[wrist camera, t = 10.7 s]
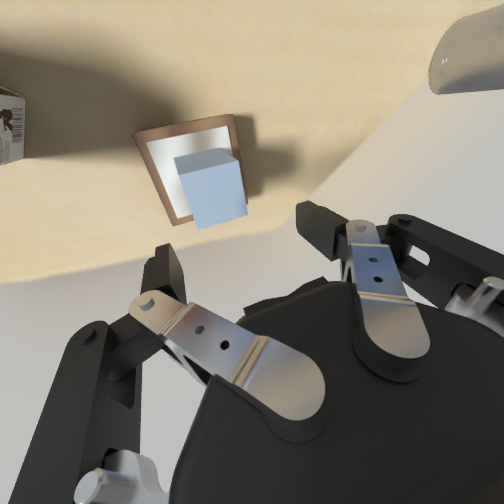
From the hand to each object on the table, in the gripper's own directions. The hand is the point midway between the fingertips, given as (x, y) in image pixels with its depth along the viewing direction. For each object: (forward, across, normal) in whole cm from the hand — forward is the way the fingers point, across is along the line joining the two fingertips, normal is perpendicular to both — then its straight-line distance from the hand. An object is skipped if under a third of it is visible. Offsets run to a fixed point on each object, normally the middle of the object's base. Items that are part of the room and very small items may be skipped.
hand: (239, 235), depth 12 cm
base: (+20, 0, 0) cm, 20 cm away
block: (+16, 0, 0) cm, 16 cm away
